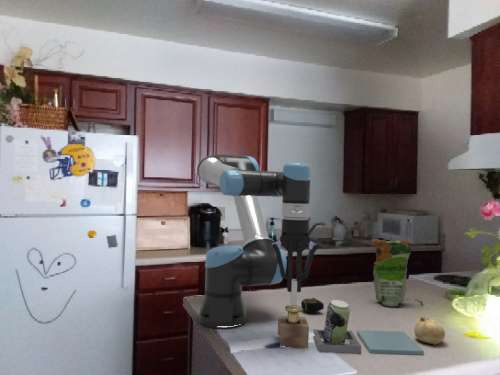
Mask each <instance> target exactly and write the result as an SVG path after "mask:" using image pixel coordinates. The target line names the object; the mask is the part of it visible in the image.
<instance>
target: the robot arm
mask: <svg viewBox="0 0 500 375" xmlns="http://www.w3.org/2000/svg"><path fill="white" fill-rule="evenodd" d="M196 174H197V176H198V177H199V180H201V181H203V182H204V183H205V184H208V185H213V184H214V185H216V186H217V187H218V186H219V189H220V192H221V194H222V195H224V196H229V197H233V200H234V205H235V209H236V212H237V213H236V214H237V217H238V222H239V225H240V226H239V227H240V229H241V234H242V238H243V242H244V244H243V245H238V244H237V245H236V244H233V245H229V244H227V245H221V246H216V247H213V248H211V249H209V250H208V251H207V253H206V256H205V263H204V267H205V271H204V272H205V273H204V275H205V276H204V278H205V279H204V281H205V282H204V297H203V300H202V303H201V306H200V309H199V312H198V323H199V324H200V325H203V326H204V327H208V328H212V329H216V328H215V327H217V326H234V325H239V324H243V325H244V324H246V323H247V312H246V307H245V304H244V300H243V298H242V291H243V290H242V288H243V287H254V286H271V285H276V284H280V283H281V282H282V281H283V279H285V280H287V281H286V291H287V293H290V305H297V306H298V302H297V301H298V293H301V292H302V282H303V280H305V279H308V278H309V274H310V271H311V266H312V262H313V259H314V257H315V256H314V255H315V253H316V252H317V250H318V249H319V245H318V244H317V243H315V242H314V241H311V237H310V235H309V234H310V220H309V217H310V194H311V168H310V165H309V164H308V163H305V162H304V163H302V162H287V163H284V165H283V169H282V171H269V170H260V165H259V164H258V162H257V160H256V159H255V157H253V156H248V155H243V154H242V155H233V154H232V155H231V154H220V153H216V154H210V155H206V156H205V157H203V158H202V159H200V161H199V162H198V164H197V167H196ZM258 197H273V198H274V197H277V198H278V197H280V198H281V197H282V200H281V201H282V203H281V217H283V219H281V235H280V237H279V240H277V241H275V240H274V239H272V238H270V237H269V234H268V231H267V227H266V224H265V220H264V216H263V212H262V209H261V207H260V202H259V199H258ZM281 244H282V245H281ZM281 246H283V247H284V249H285V250H286V251H287V255H286V252H285V250H283V249H282V247H281ZM307 247H308V253H307V256H306V261H305V265H304V268H303V269H302V267H303V265H302V263H303V252H304V251H305V249H306V248H307ZM294 253H296V266H295V267H296V270H295V271H296V272H295V273H296V274H295V275H296V278H293V260H294V259H293V258H294V257H293V256H294V255H293V254H294ZM302 270H303V272H302Z"/></svg>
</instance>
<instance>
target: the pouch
mask: <svg viewBox="0 0 500 375" xmlns="http://www.w3.org/2000/svg"><path fill="white" fill-rule="evenodd" d="M372 242H373V244H374V247H375V250H376V252H375V257H376V260H375V261H374V263H373V271H372V274H373V284H374V291H375V299H376V300H377V301H379V302H382V306H385V307H398V305H399V304H400V303H403V302H404V301H405V297H406V296H405V295H406V291H407V286H406V284H407V281H406V280H407V272H408V267H407V266H408V262H409V261H408V260H409V258H410V255H411V253H412V247H411V246H412V245H411V244H412V242H410V241H409V240H393V239H392V238H390V239H389V241H388V240H381V239H379V238H374V239H373V238H372Z"/></svg>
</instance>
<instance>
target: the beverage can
mask: <svg viewBox="0 0 500 375" xmlns="http://www.w3.org/2000/svg"><path fill="white" fill-rule="evenodd" d="M349 306H350V305H349V303H348V302H346V301H343V300H340V299H332V300H330V302H329V303H328V305H327V310H326V315H325V322H324V328H323V330H324V334H323V338H322V339H323V341H325V343H335V344H346V343H345V342H346V332H347V331H348V325H349V319H350V313H351V309H350V307H349Z"/></svg>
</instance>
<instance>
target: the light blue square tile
mask: <svg viewBox="0 0 500 375" xmlns="http://www.w3.org/2000/svg"><path fill="white" fill-rule="evenodd" d="M356 335H357V336H358V337H359V339H360V340H361V342H362V344H363V346H365V348H366V350H367V351H368V353H369V354H383V355H384V354H386V355H387V354H389V355H410V356H411V355H412V356H414V355H416V356H417V355H419V356H424V353H425V351H424V350H423V349H422V348H421V347H420V346H419V345H418V344H417V343H416V342H415V340H413V339H412V338H411V337H410V336H409V335H408V334H407V333H406V332H405V331H399V330H398V331H395V330H394V331H393V330H368V329H367V330H363V329H357V330H356Z"/></svg>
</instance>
